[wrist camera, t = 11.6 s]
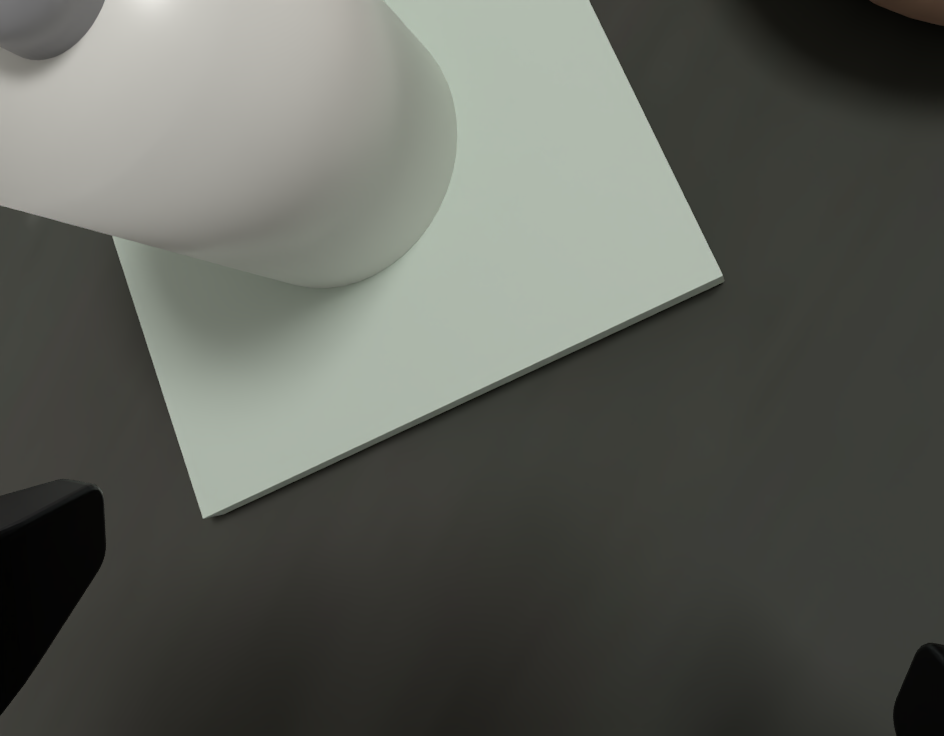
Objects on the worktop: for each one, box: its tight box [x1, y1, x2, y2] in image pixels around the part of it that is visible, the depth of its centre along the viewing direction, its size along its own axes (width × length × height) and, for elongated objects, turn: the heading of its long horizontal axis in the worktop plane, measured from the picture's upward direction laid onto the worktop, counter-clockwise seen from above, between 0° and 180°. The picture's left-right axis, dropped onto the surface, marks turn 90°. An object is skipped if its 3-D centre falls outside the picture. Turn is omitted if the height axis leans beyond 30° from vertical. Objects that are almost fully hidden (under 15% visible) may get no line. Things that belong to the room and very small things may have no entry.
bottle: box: [0, 0, 457, 288], centre depth 14 cm, size 7×7×9 cm
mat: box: [112, 0, 724, 519], centre depth 19 cm, size 14×14×1 cm
